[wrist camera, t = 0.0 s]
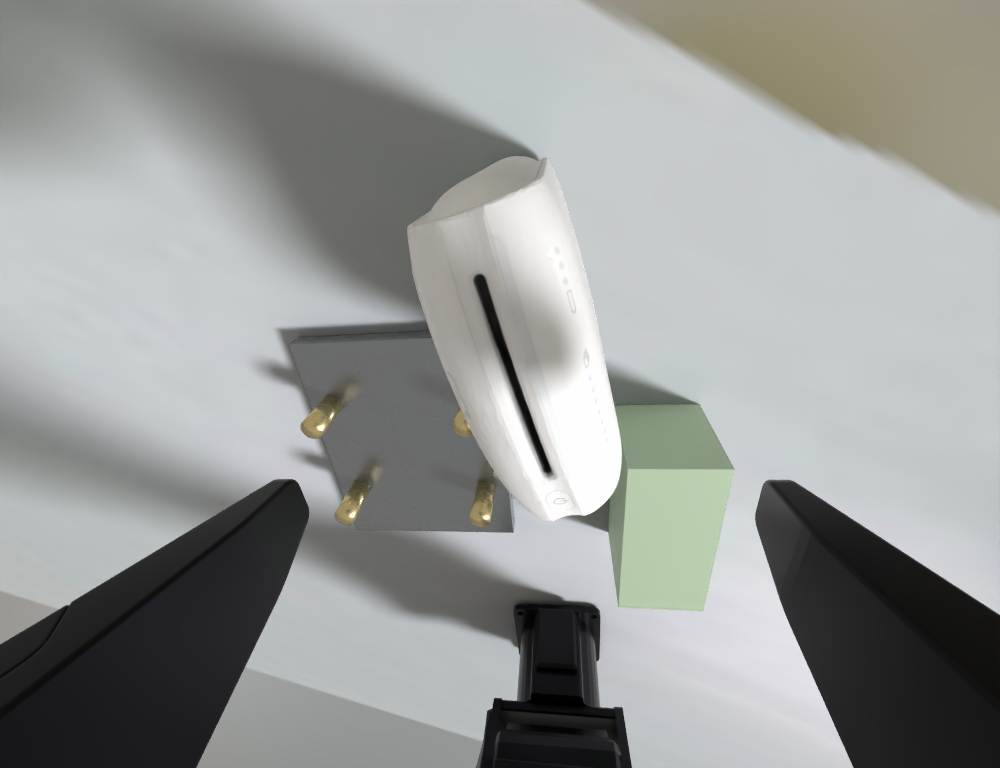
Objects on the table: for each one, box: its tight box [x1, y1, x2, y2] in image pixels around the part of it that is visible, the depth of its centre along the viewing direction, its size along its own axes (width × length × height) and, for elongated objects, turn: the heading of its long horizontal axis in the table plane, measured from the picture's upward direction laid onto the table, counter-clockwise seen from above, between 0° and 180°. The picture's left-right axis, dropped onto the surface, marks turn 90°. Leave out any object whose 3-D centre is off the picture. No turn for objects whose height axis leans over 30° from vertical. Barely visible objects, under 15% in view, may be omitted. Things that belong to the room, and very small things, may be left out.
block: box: [608, 404, 735, 611], centre depth 24 cm, size 10×4×6 cm, turn 5°
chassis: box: [289, 331, 515, 533], centre depth 25 cm, size 14×11×4 cm
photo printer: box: [407, 156, 622, 521], centre depth 16 cm, size 10×4×12 cm, turn 19°
